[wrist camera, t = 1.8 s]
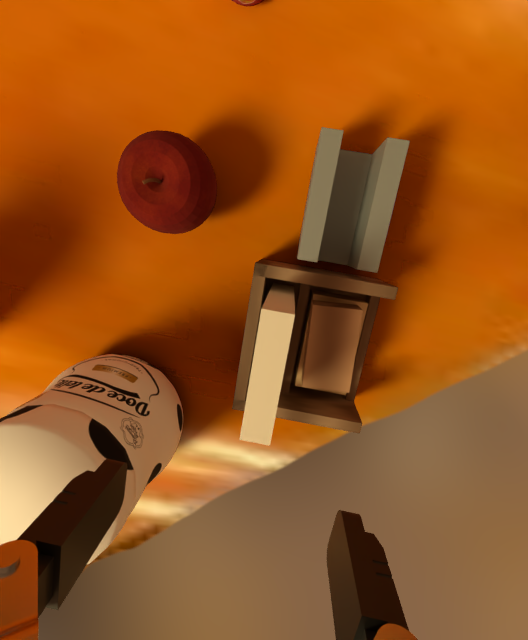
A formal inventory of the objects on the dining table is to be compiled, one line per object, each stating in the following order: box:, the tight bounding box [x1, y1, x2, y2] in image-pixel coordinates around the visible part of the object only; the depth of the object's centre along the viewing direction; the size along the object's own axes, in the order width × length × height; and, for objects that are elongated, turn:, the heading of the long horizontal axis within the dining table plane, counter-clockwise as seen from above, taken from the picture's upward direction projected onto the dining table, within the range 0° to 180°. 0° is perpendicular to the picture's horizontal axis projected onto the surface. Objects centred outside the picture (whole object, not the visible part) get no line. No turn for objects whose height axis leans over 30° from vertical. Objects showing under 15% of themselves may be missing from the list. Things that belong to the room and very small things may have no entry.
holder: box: [296, 127, 410, 273], centre depth 35 cm, size 8×12×7 cm, turn 171°
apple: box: [117, 131, 217, 234], centre depth 35 cm, size 10×10×10 cm
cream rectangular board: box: [240, 283, 295, 445], centre depth 33 cm, size 2×11×16 cm, turn 171°
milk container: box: [0, 354, 183, 564], centre depth 38 cm, size 17×17×18 cm
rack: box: [232, 259, 398, 433], centre depth 38 cm, size 14×16×8 cm
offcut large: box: [295, 290, 368, 395], centre depth 39 cm, size 6×11×4 cm, turn 171°
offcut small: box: [301, 300, 363, 393], centre depth 36 cm, size 5×9×3 cm, turn 175°
